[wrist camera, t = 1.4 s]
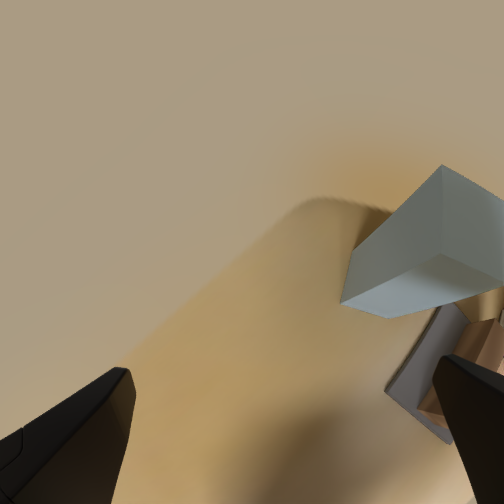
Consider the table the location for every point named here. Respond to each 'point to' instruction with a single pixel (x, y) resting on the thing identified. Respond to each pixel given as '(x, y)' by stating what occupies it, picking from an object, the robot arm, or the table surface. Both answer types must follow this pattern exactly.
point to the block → (430, 250)
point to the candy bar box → (502, 319)
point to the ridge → (475, 350)
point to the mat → (428, 364)
